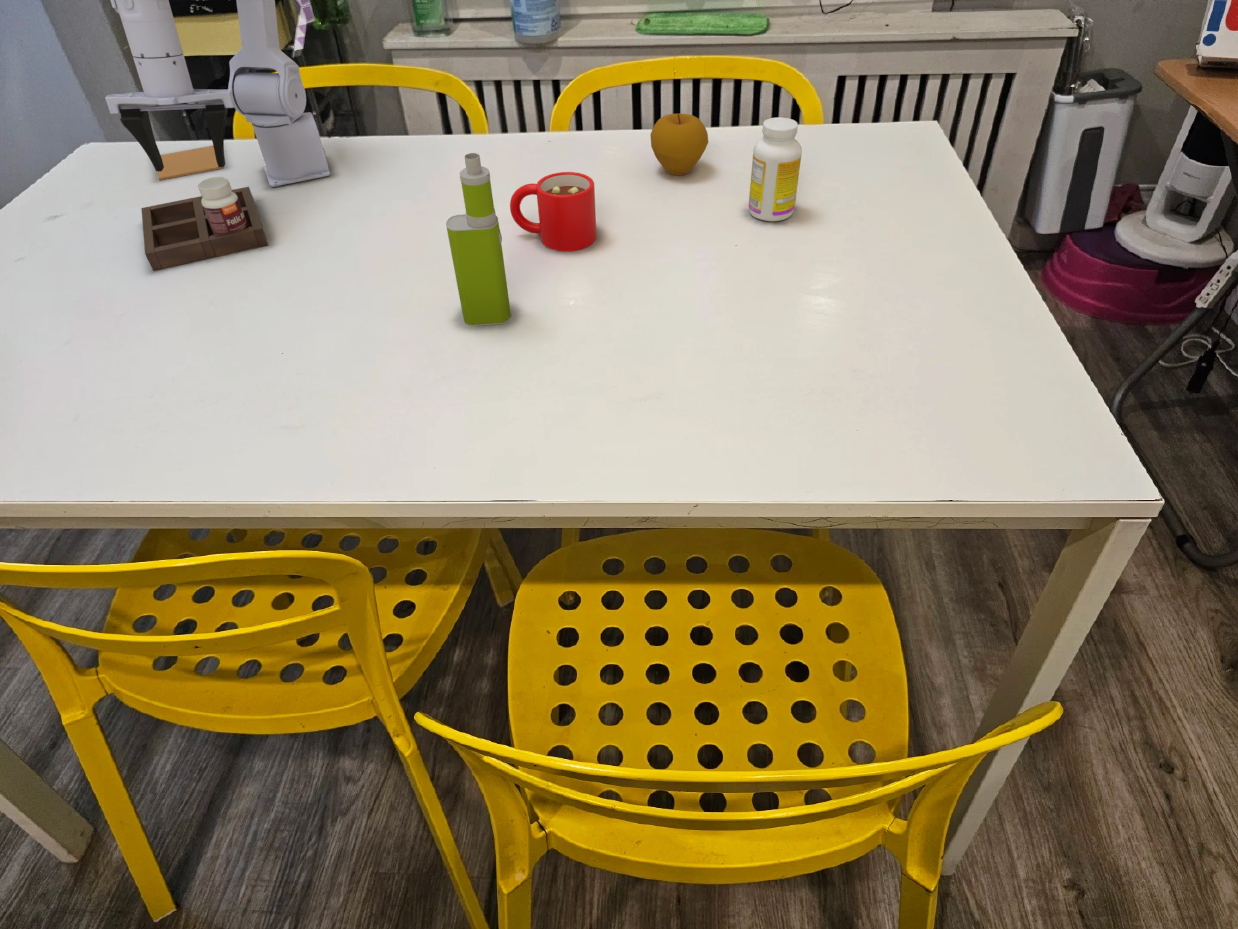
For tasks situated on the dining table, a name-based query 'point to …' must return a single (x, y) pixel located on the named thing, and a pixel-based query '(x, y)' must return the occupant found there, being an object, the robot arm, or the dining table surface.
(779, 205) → the supplement bottle
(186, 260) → the rack
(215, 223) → the pill bottle
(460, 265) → the vape
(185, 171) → the cork mat
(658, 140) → the apple
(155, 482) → the dining table surface
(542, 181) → the mug
